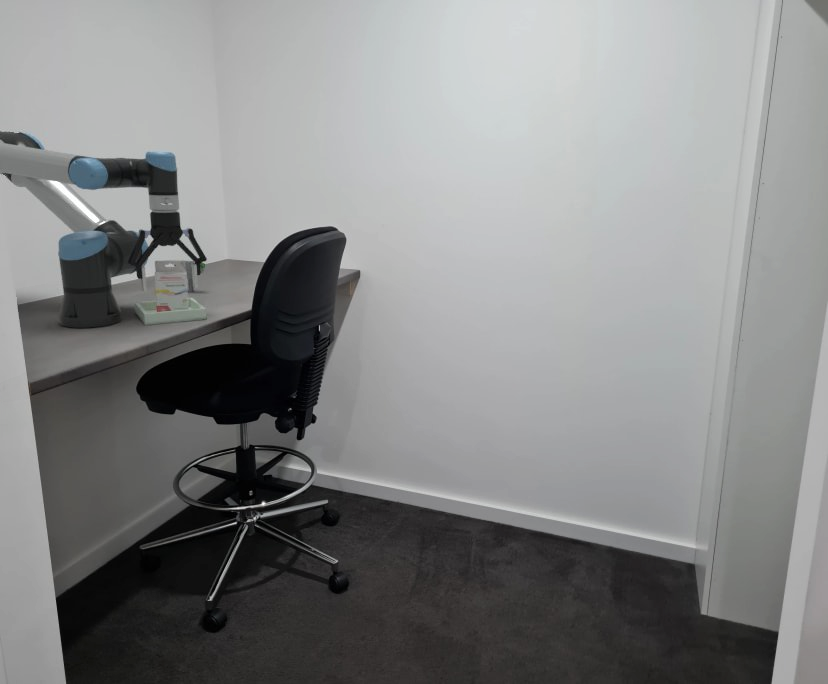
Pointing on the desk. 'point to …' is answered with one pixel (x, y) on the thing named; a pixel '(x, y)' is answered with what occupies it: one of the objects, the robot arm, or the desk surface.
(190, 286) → the mechanical component
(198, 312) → the tray
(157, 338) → the desk surface
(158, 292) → the ink cartridge box
